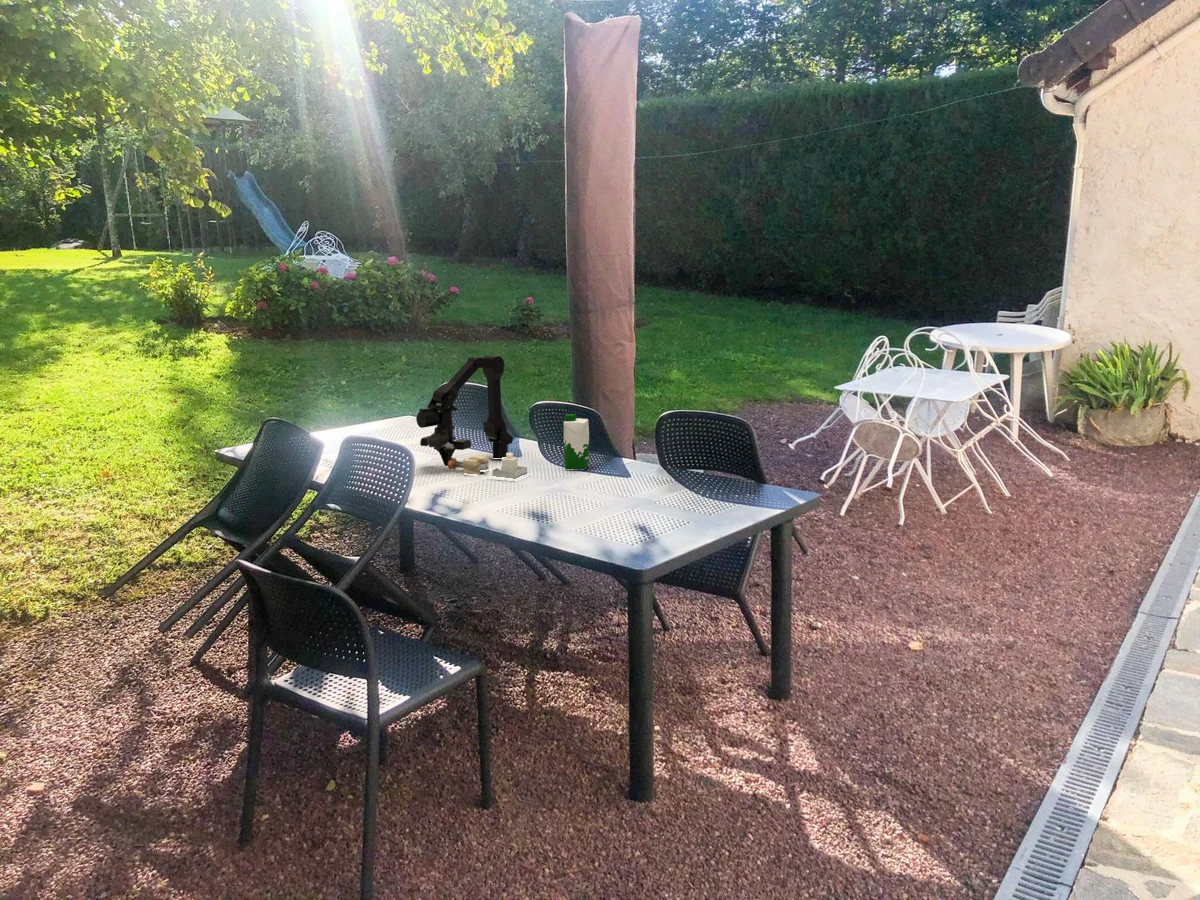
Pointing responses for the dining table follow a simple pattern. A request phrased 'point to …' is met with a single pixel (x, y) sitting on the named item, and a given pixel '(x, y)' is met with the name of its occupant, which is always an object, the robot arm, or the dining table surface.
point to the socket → (510, 474)
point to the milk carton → (576, 442)
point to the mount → (474, 464)
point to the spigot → (509, 463)
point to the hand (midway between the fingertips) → (446, 465)
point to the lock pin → (461, 464)
